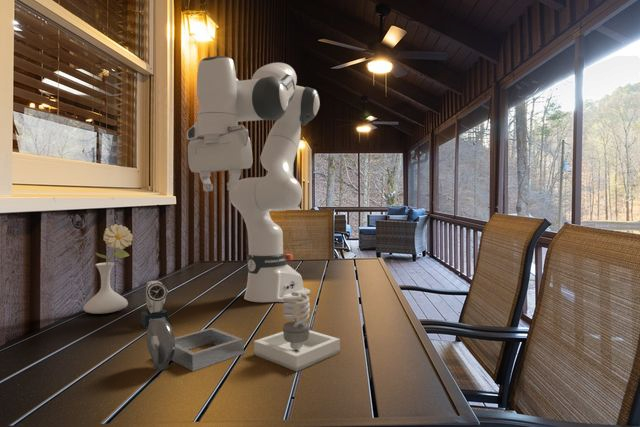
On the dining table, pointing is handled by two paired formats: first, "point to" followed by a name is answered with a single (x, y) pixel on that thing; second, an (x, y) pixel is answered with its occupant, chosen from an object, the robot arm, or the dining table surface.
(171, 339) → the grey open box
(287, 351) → the tray
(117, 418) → the dining table surface
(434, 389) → the dining table surface
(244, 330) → the dining table surface
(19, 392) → the dining table surface
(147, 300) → the watch
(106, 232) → the flower in vase
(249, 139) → the robot arm
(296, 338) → the light bulb
